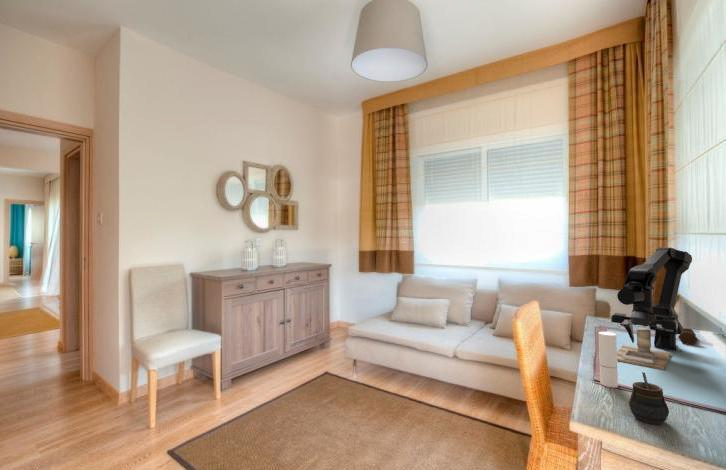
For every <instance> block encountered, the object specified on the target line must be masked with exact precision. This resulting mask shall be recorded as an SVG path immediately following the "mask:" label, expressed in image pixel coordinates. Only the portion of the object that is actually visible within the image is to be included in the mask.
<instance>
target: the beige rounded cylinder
mask: <svg viewBox="0 0 726 470" xmlns="http://www.w3.org/2000/svg"><path fill="white" fill-rule="evenodd" d="M651 338H652V335H651V330H650V328H644V327H643V328H641V327H638V328H636V346H637V347H638V351H640V352H645V353H650V349H651V347H652V341H651Z"/></svg>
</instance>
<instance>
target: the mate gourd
mask: <svg viewBox="0 0 726 470" xmlns="http://www.w3.org/2000/svg"><path fill="white" fill-rule="evenodd" d="M641 373H642V377H643V381H637V382H636V381H635V382H633V383H632V391H631V394H630V397H629V400H628V404H629V405H628V407H629V409H630V412H631V414H632V415H633V416H634V417H635V418H636V419H638V420H639V421H641V422H644V423H645V424H648V425H649V424H650V425H661V424H662V423H664V422H666V421H667V419H668V417H669V414H670V411H669V407H668V404H667V402H666V400H665V398H664V391H663V388H662V387H661V386H659V385H657V384H653V383H649V382H648V380H647V376H646V372H643V371H642V372H641Z"/></svg>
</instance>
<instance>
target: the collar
mask: <svg viewBox="0 0 726 470" xmlns="http://www.w3.org/2000/svg"><path fill="white" fill-rule="evenodd" d="M628 354H634V355H639V356H645V357H651V360H650V359H644V358H639V357H633V356H628ZM622 356H623V359H628V360H633V361H639V362H644V363H649V364H653V363H654V361H655V359H656V354H650V353H644V352H638V351H632V350H626V351H625V353H624V354H623V355H622Z"/></svg>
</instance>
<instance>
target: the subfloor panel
mask: <svg viewBox="0 0 726 470" xmlns="http://www.w3.org/2000/svg"><path fill="white" fill-rule="evenodd" d="M626 350H632V351H638V346H631V345H625V344H622V346H620V348H619V349H617V362H621V363H626V364H631V365H637V366H641V367H642V366H643V367H647V368H653V369H657V370H662V371H664V370H665V369H666V366H667V363H668V362H669V359H670V357H671V355H672V353H671V352H670V351H669V352H668V351H662V350H657V349H651V348H650V354H656V359H655V361H654V363H653V364H649V363H644V362H639V361H633V360H628V359H623V356H622V355H623V354H624V353H625V351H626ZM638 352H640V351H638ZM644 353H645V352H644ZM628 356H633V357H639V358H644V359H650V360H651V357H645V356H639V355H634V354H628Z"/></svg>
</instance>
